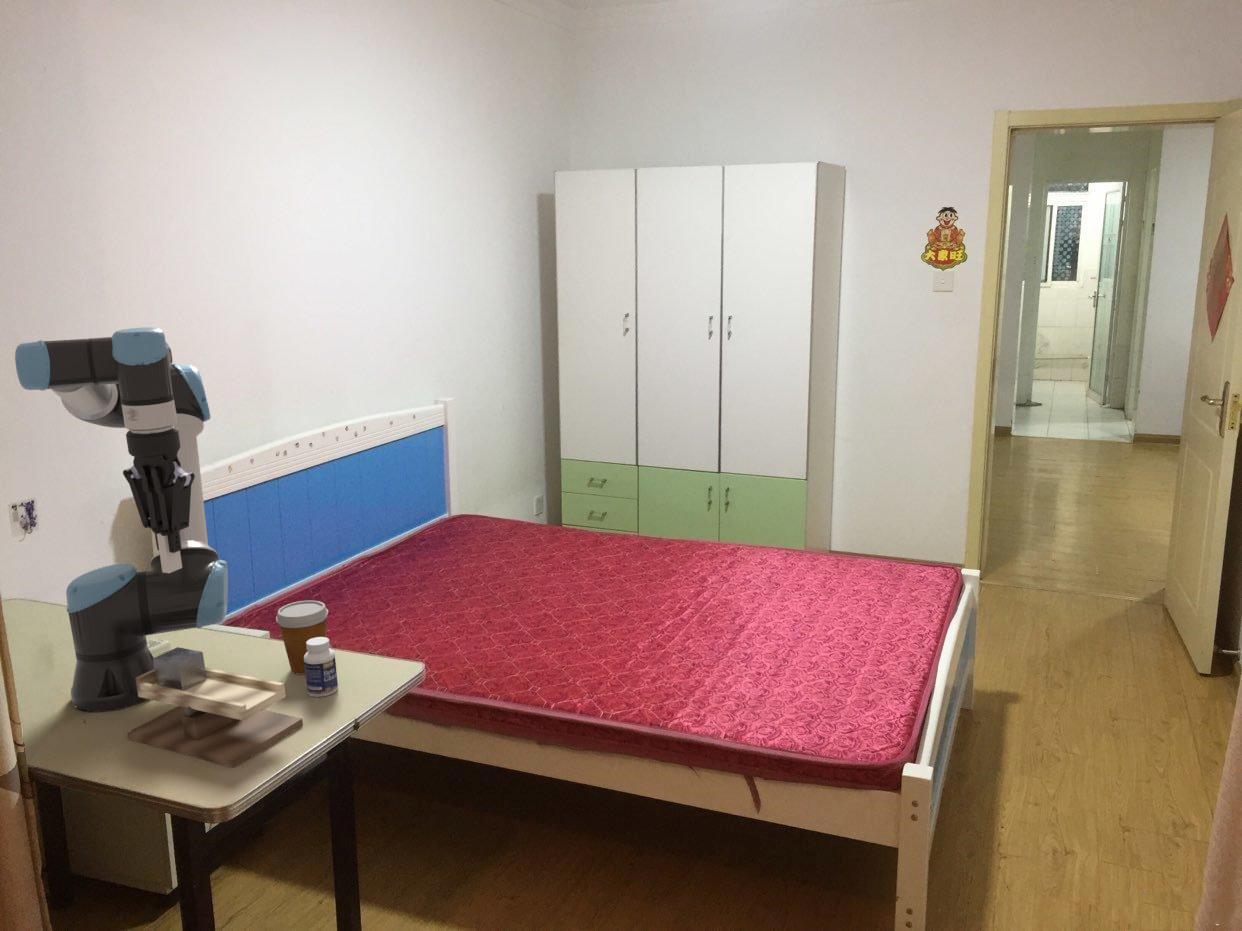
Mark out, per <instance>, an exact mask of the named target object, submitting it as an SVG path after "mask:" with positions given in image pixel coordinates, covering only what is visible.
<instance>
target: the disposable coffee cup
mask: <svg viewBox="0 0 1242 931" xmlns="http://www.w3.org/2000/svg"><path fill="white" fill-rule="evenodd" d="M328 614H329V609H328V608H327V607H326V604H325V603H324V602H322V601H320V600H319V601H318V600H301V601H300V600H299V601H295V602H290V603H288V604H286V605H283V606H281V607H280V608H279V609H278V611H277V615H276V617H275V621H276V622H277V624H278V625H279V628H280V632H281V636H282V640H283V645H284V647H285V652H286V655H287V658H288V663H289V667H290V668H289V669H290V672H292V673H293V672H294V674H296V673H298V674H297V675H305V666H304V655H305V654H306V653H307V652H308V651H307V648H306V642H307V641H308V640H309V639H312V638H316V637H326V638H327V618H328Z"/></svg>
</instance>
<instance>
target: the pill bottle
mask: <svg viewBox="0 0 1242 931" xmlns="http://www.w3.org/2000/svg"><path fill="white" fill-rule="evenodd" d="M330 647H331V644H330V639H329V638H328V637H327V636H326V637H316V638H312V639H309V640H308V641H307V642H306V648H307V651H308V652H307V653H306V654H305V655H304V666H305V674H304V676H305V683H306V692H307V694H308V695H309V696H310V697H315V698H320V697H321V698H322V697H327V696H330V695H333V694H335V693H336V692H337V691H338V689H339V684H338V682H339V681H338V673H337V672H338V671H337V664H336V663H337V661H336V654H335V651H334V650H333V649H331V648H330Z"/></svg>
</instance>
